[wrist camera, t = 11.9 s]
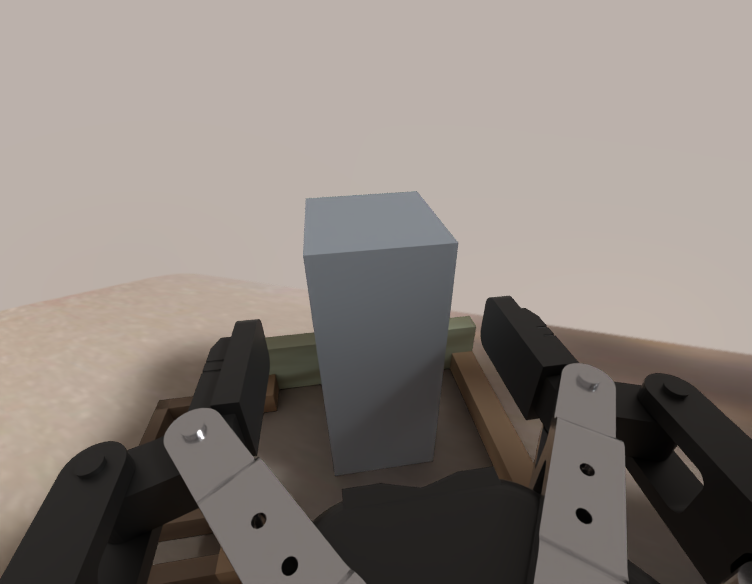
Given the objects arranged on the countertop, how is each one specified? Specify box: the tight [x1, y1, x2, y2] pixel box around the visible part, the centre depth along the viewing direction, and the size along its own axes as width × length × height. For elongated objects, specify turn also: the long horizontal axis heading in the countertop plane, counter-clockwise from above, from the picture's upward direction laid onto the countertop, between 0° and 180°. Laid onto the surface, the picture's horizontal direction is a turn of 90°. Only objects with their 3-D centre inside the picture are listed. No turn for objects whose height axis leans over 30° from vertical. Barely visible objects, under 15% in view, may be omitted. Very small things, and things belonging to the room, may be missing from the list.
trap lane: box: [215, 316, 534, 584], centre depth 12 cm, size 22×12×3 cm, turn 8°
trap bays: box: [139, 396, 221, 584], centre depth 13 cm, size 14×4×1 cm, turn 8°
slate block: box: [303, 191, 458, 476], centre depth 15 cm, size 5×4×11 cm
